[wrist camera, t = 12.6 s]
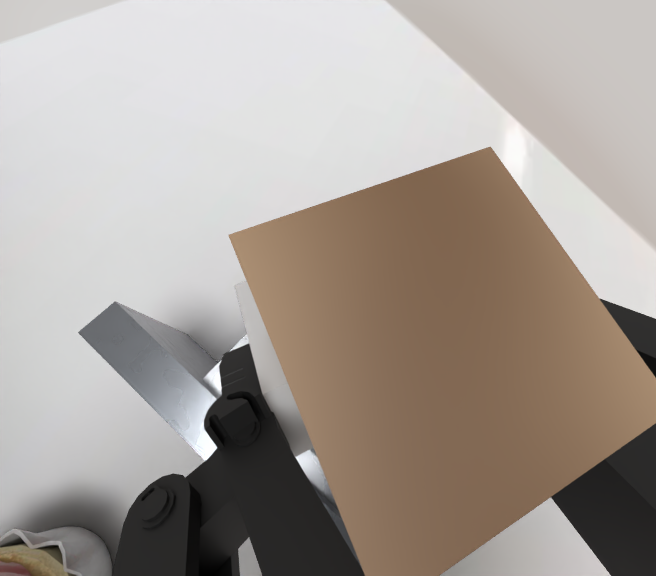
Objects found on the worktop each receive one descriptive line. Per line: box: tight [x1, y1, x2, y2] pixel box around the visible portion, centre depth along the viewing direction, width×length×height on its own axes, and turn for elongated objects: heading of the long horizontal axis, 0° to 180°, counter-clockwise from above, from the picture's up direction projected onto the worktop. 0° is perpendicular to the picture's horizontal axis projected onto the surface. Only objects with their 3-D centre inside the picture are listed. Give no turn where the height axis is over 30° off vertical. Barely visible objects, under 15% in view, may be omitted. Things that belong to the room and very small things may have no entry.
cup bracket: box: [78, 301, 363, 570], centre depth 19 cm, size 20×11×10 cm, turn 49°
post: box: [229, 147, 656, 576], centre depth 11 cm, size 4×4×15 cm
